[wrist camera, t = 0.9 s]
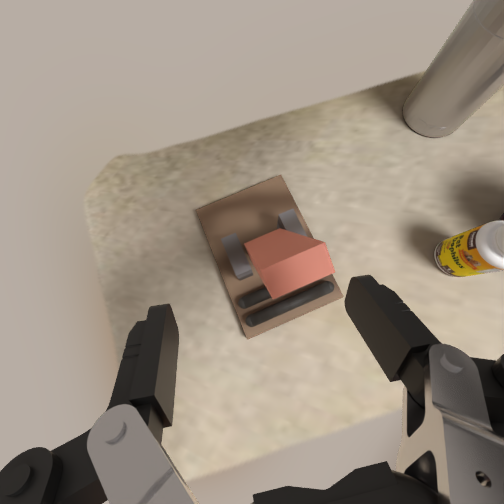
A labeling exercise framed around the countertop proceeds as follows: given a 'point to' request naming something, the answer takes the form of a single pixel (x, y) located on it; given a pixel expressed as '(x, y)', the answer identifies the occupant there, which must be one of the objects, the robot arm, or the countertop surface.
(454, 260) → the supplement bottle
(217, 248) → the switch board
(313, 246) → the lever
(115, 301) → the countertop surface
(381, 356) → the robot arm
